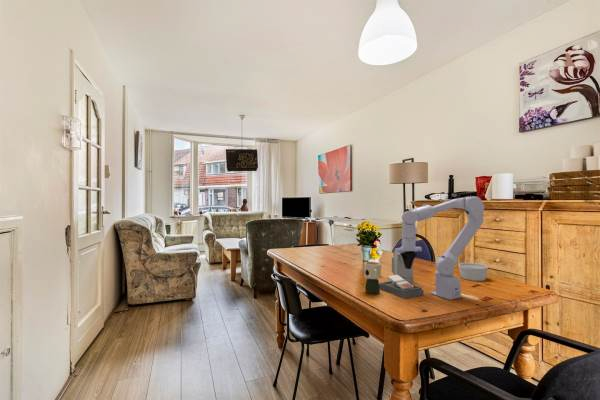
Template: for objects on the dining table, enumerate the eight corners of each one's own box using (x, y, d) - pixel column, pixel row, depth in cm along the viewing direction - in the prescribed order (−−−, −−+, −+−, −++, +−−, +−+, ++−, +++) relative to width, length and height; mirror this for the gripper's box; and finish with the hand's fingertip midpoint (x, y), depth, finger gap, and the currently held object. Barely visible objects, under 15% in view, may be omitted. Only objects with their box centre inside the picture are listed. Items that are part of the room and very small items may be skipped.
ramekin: (492, 282, 146) (492, 268, 146) (463, 281, 149) (463, 267, 149) (481, 276, 159) (481, 263, 160) (455, 275, 162) (455, 262, 162)
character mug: (361, 289, 136) (361, 260, 136) (376, 288, 136) (376, 260, 137) (367, 296, 125) (367, 265, 125) (384, 296, 126) (384, 265, 126)
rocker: (413, 288, 130) (413, 285, 129) (403, 290, 127) (403, 287, 127) (396, 277, 138) (397, 274, 138) (386, 278, 136) (387, 275, 135)
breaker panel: (423, 294, 128) (423, 287, 128) (405, 298, 123) (405, 291, 123) (395, 285, 142) (395, 278, 142) (378, 288, 137) (378, 281, 137)
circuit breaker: (405, 278, 155) (405, 249, 155) (413, 285, 141) (413, 254, 141) (391, 277, 156) (391, 249, 156) (397, 285, 142) (397, 254, 142)
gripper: (413, 236, 139) (412, 265, 139) (389, 237, 132) (389, 267, 132) (425, 238, 132) (425, 268, 132) (402, 239, 126) (401, 271, 126)
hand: (408, 268), depth 132 cm, fingers closed
